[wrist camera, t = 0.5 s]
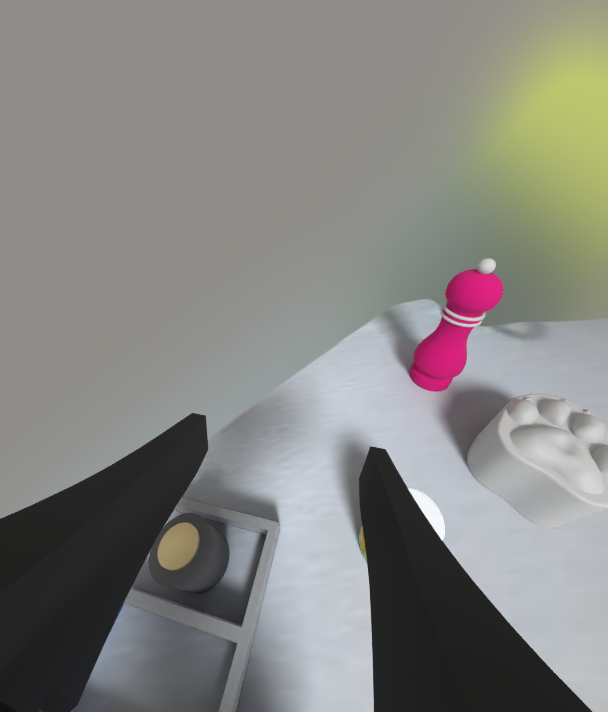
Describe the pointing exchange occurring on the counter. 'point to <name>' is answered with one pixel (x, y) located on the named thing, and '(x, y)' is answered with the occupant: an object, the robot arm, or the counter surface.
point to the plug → (189, 554)
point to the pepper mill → (456, 326)
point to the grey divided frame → (213, 623)
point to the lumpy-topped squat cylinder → (544, 459)
